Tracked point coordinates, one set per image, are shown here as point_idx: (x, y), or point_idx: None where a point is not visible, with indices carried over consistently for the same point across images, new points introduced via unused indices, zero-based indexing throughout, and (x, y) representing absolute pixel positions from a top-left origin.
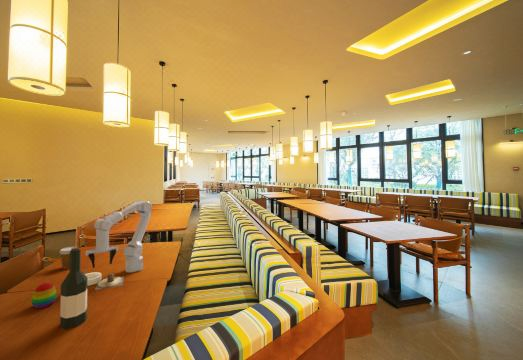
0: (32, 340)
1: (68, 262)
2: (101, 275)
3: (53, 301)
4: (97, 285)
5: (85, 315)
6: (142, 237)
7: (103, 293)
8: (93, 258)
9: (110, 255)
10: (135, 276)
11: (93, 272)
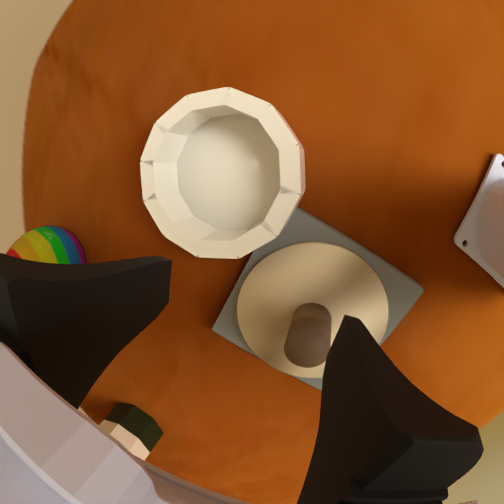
0: (86, 398)
1: None
2: (296, 203)
3: None
4: (240, 286)
5: (153, 447)
6: None
7: (239, 371)
8: (76, 389)
9: (334, 436)
10: (461, 322)
11: (261, 100)
